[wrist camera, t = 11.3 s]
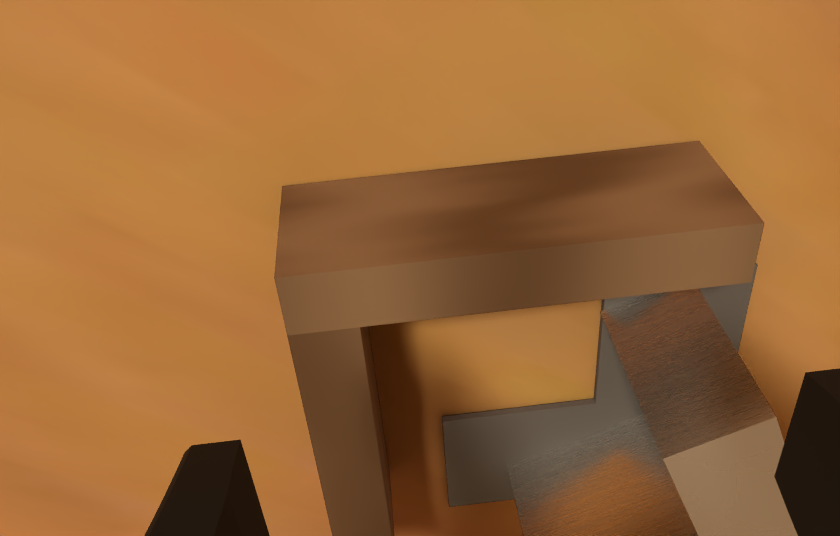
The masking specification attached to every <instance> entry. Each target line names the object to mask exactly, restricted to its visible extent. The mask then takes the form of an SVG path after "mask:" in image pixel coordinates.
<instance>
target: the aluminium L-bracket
mask: <svg viewBox="0 0 840 536" xmlns="http://www.w3.org/2000/svg"><path fill="white" fill-rule="evenodd" d="M600 313H601V315H602V318H603V320H604V322H605V325H606V327H607V329H608V332H609V334H610V336H611V339H612V341H613V343H614V346H615V348H616V350H617V353H618V355H619V357H620V360H621V362H622V364H623V367H624V369H625V371H626V374H627V376H628V378H629V381H630V383H631V385H632V388H633V390H634V392H635V395H636V397H637V399H638V402H639V404H640V406H641V409H642V411H643V413H644V414H642V415H639V416H637V417H634V418H631V419H629V420H626V421H624V422H621V423H618V424H616V425H613V426H611V427H608V428H605V429H603V430H600V431H598V432H595V433H592V434H590V435H587V436H584V437H582V438H579V439H577V440H574V441H571V442H569V443H566V444H564V445H561V446H558V447H556V448H553V449H551V450H548V451H545V452H543V453H540V454H537V455H535V456H532V457H530V458H527V459H524V460H522V461H519V462H517V463H514V464H511V465H509V466H507V467H508V472H509V476H510V480H511V485H512V489H513V493H514V498H515V502H516V507H517V511H518V515H519V520H520V524H521V528H522V533H523V536H798V535H797V532H796V530H795V528H794V525H793V523H792V520H791V518H790V516H789V513H788V510H787V508H786V505H785V503H784V500H783V498H782V495H781V492H780V490H779V487H778V485H777V482H776V479H775V477H774V476H775V472H776V469H777V466H778V462H779V459H780V456H781V453H782V449H783V446H784V440H783V437H782V434H781V430H780V427H779V424H778V420H777V417H776V415H775V414H774V412H773V410H772V409H771V407H770V405H769V404H768V402H767V400H766V399H765V397H764V395H763V394H762V392H761V390H760V389H759V387H758V385H757V384H756V382H755V381H754V379H753V377H752V376H751V374H750V372H749V371H748V369H747V367H746V366H745V364H744V362H743V361H742V359H741V357H740V356H739V354H738V352H737V351H736V349H735V347H734V346H733V344H732V343H731V341H730V339H729V338H728V336H727V334H726V333H725V331H724V329H723V328H722V326H721V324H720V323H719V321H718V319H717V318H716V316H715V314H714V313H713V311H712V310H711V308H710V306H709V305H708V303H707V301H706V300H705V298H704V296H703V295H702V293H701V291H700V290H699V288H698V289H689V290H681V291H672V292H663V293H654V294H646V295H639V296H637V297H635V298H632V299H630V300H627V301H625V302H622V303H620V304H618V305H615V306H613V307H610V308H608V309H606V310H603V311H601V312H600Z"/></svg>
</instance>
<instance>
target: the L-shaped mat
mask: <svg viewBox="0 0 840 536" xmlns="http://www.w3.org/2000/svg"><path fill="white" fill-rule="evenodd" d="M756 270H757V264H756V263H755V268H754V272H753V277H752V281H751V282H750V283H742V284H733V285H724V286H716V287H707V288H699V290H700V291H701V293H702V295H703V296H704V298H705V300H706V301H707V303H708V305H709V306H710V308H711V310H712V311H713V313H714V314H715V316H716V318H717V319H718V321H719V323H720V324H721V326H722V328H723V329H724V331H725V333H726V334H727V336H728V338H729V339H730V341H731V343H732V344H733V346H734V347H735V349H736V351H737V352H738V349H739V345H740V340H741V336H742V331H743V327H744V322H745V318H746V314H747V309H748V305H749V300H750V296H751V292H752V287H753V283H754V278H755V274H756ZM637 296H639V295H637ZM637 296H628V297H620V298H611V299H602V307H601V311H603V310H606V309H608V308H610V307H613V306H615V305H618V304H620V303H622V302H625V301H627V300H630V299H632V298H635V297H637ZM642 414H644V413H643V411H642V409H641V406H640V404H639V402H638V399H637V397H636V395H635V392H634V390H633V388H632V385H631V383H630V381H629V378H628V376H627V374H626V371H625V369H624V367H623V364H622V362H621V360H620V357H619V355H618V353H617V350H616V348H615V346H614V343H613V341H612V339H611V336H610V334H609V332H608V329H607V327H606V325H605V322H604V320H603V318H602V315H601V319H600V330H599V342H598V354H597V366H596V378H595V389H594V399H586V400H577V401H569V402H560V403H552V404H544V405H535V406H527V407H518V408H510V409H501V410H493V411H485V412H476V413H468V414H459V415H451V416H442V424H443V437H444V450H445V462H446V475H447V488H448V501H449V507H454V506H462V505H470V504H479V503H487V502H495V501H503V500H511V499H515V498H514V493H513V489H512V485H511V480H510V476H509V472H508V467H507V466H509V465H511V464H514V463H517V462H519V461H522V460H524V459H527V458H530V457H532V456H535V455H537V454H540V453H543V452H545V451H548V450H551V449H553V448H556V447H558V446H561V445H564V444H566V443H569V442H571V441H574V440H577V439H579V438H582V437H584V436H587V435H590V434H592V433H595V432H598V431H600V430H603V429H605V428H608V427H611V426H613V425H616V424H618V423H621V422H624V421H626V420H629V419H631V418H634V417H637V416H639V415H642Z"/></svg>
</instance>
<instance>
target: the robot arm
mask: <svg viewBox="0 0 840 536" xmlns="http://www.w3.org/2000/svg"><path fill="white" fill-rule="evenodd" d="M774 477H775V479H776V482H777V485H778V487H779V490H780V492H781V495H782V498H783V500H784V503H785V505H786V508H787V510H788V513H789V516H790V518H791V520H792V523H793V525H794V528H795V530H796V532H797V535H798V536H840V369H832V370H823V371H815V372H807V373H805V376H804V380H803V383H802V386H801V390H800V393H799V396H798V400H797V403H796V406H795V409H794V413H793V416H792V419H791V423H790V426H789V429H788V433H787V436H786V439H785V443H784V446H783V449H782V453H781V456H780V459H779V462H778V466H777V469H776V472H775V476H774ZM145 536H269V532H268V529H267V526H266V522H265V519H264V516H263V513H262V509H261V506H260V503H259V499H258V496H257V493H256V490H255V486H254V483H253V480H252V476H251V473H250V470H249V467H248V463H247V460H246V457H245V453H244V450H243V447H242V443H241V440H234V441H225V442H217V443H208V444H200V445H192V446H191V447H190V448H189V449H188V450H187V451H186V452H185V453H184V455H183V457H182V460H181V462H180V464H179V466H178V468H177V471H176V473H175V475H174V477H173V479H172V481H171V483H170V485H169V488H168V490H167V492H166V494H165V496H164V498H163V500H162V502H161V504H160V506H159V508H158V510H157V512H156V514H155V516H154V518H153V520H152V522H151V524H150V526H149V528H148V530H147V532H146V534H145Z"/></svg>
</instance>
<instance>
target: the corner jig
mask: <svg viewBox="0 0 840 536" xmlns="http://www.w3.org/2000/svg"><path fill="white" fill-rule="evenodd" d="M763 228H764V222H763V220H762V219H761V218H760V217H759V215H758V214H757V213H756V212H755V210H754V209H753V208H752V207H751V205H750V204H749V203H748V202H747V200H746V199H745V198H744V197H743V195H742V194H741V193H740V192H739V190H738V189H737V188H736V187H735V185H734V184H733V183H732V182H731V180H730V179H729V178H728V177H727V175H726V174H725V173H724V172H723V170H722V169H721V168H720V167H719V165H718V164H717V163H716V161H715V160H714V159H713V158H712V156H711V155H710V154H709V153H708V151H707V150H706V149H705V148H704V146H703V145H702V144H701V143H700V141H694V142H685V143H676V144H667V145H658V146H648V147H639V148H630V149H621V150H611V151H602V152H593V153H584V154H575V155H565V156H556V157H547V158H538V159H528V160H519V161H510V162H501V163H492V164H482V165H473V166H464V167H455V168H445V169H436V170H427V171H418V172H409V173H399V174H390V175H381V176H372V177H362V178H353V179H344V180H335V181H326V182H316V183H307V184H298V185H289V186H282V195H281V206H280V218H279V230H278V241H277V253H276V265H275V276H274V279H275V283H276V288H277V292H278V296H279V301H280V305H281V310H282V314H283V319H284V323H285V327H286V332H287V336H288V341H289V345H290V350H291V354H292V359H293V363H294V367H295V372H296V376H297V381H298V385H299V390H300V394H301V398H302V403H303V407H304V412H305V416H306V421H307V425H308V429H309V434H310V438H311V443H312V447H313V452H314V456H315V461H316V465H317V469H318V474H319V478H320V483H321V487H322V492H323V496H324V500H325V505H326V509H327V514H328V518H329V523H330V527H331V531H332V536H394V524H393V511H392V498H391V486H390V473H389V466H388V459H387V452H386V445H385V438H384V431H383V424H382V417H381V410H380V403H379V397H378V390H377V383H376V376H375V369H374V362H373V355H372V348H371V341H370V334H369V327H368V326H375V325H384V324H393V323H401V322H410V321H419V320H428V319H436V318H445V317H454V316H462V315H471V314H480V313H489V312H497V311H506V310H515V309H524V308H532V307H541V306H550V305H558V304H567V303H576V302H585V301H593V300H602V299H611V298H620V297H628V296H637V295H646V294H654V293H663V292H672V291H681V290H689V289H698V288H707V287H716V286H724V285H733V284H742V283H750V282H751V281H752V277H753V272H754V268H755V263H756V259H757V254H758V250H759V245H760V241H761V236H762V232H763Z"/></svg>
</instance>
